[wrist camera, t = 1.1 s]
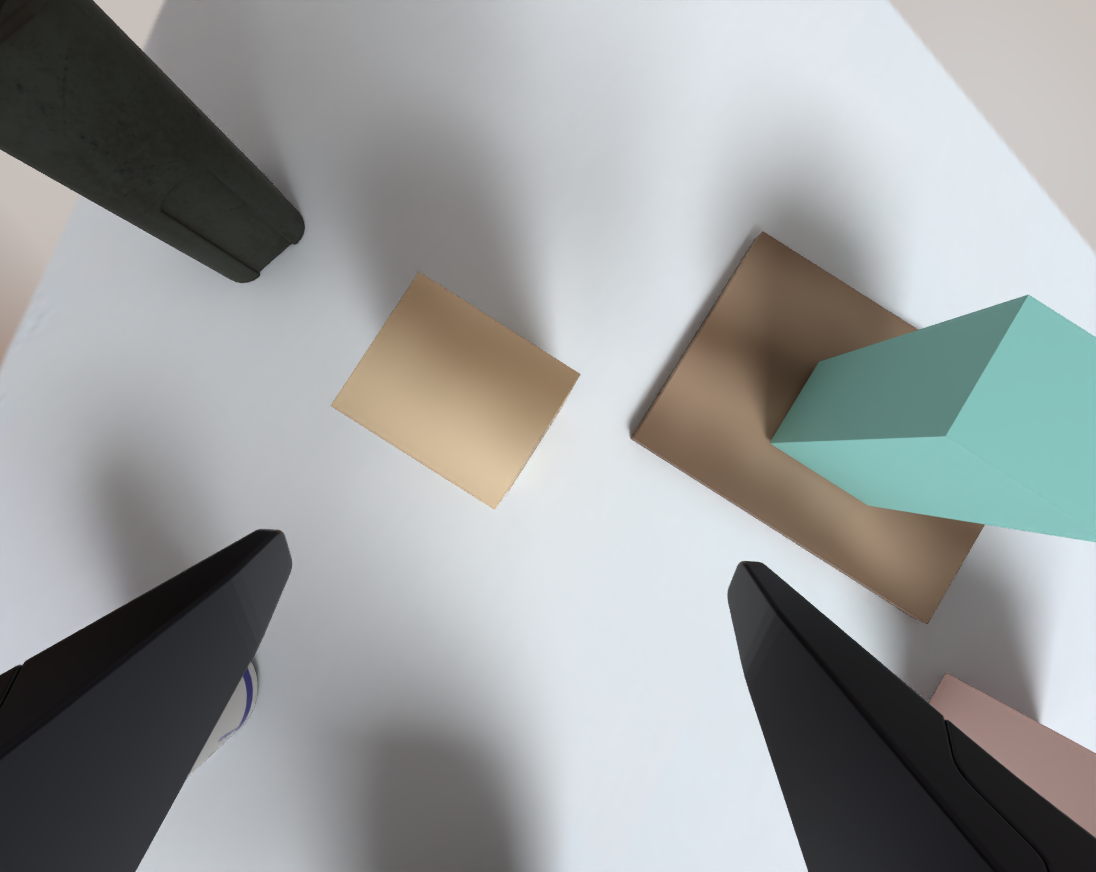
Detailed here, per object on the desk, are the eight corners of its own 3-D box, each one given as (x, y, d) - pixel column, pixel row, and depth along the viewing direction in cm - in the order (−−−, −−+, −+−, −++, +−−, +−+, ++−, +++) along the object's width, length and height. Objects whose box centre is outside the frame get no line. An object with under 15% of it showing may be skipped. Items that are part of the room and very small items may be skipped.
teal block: (867, 505, 23) (1117, 545, 13) (769, 443, 23) (945, 436, 13) (916, 423, 23) (1198, 402, 13) (818, 361, 23) (1028, 294, 13)
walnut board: (914, 618, 24) (932, 626, 23) (630, 438, 24) (635, 438, 23) (1032, 414, 25) (1055, 412, 24) (755, 238, 25) (765, 228, 24)
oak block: (512, 485, 24) (494, 509, 14) (416, 425, 24) (330, 405, 14) (562, 406, 24) (580, 374, 14) (467, 346, 24) (418, 271, 14)
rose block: (994, 814, 24) (1321, 1073, 14) (899, 754, 24) (1158, 970, 14) (1040, 732, 24) (1394, 929, 14) (945, 672, 24) (1234, 827, 14)
